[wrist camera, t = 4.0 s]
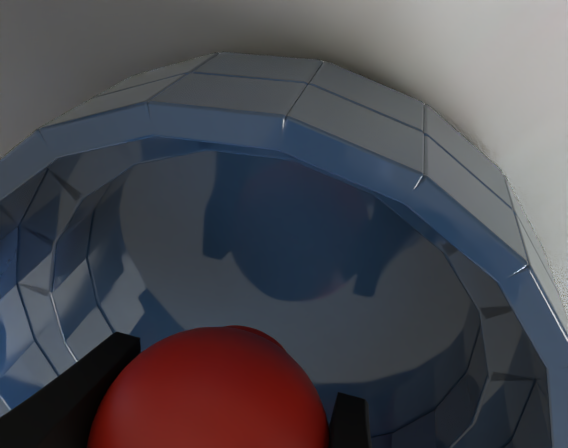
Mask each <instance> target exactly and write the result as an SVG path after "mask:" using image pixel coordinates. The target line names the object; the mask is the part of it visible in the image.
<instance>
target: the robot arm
mask: <svg viewBox="0 0 568 448" xmlns="http://www.w3.org/2000/svg"><path fill="white" fill-rule="evenodd" d="M140 353H141V341H140V338H139V337H135V336H132V335H128V334H124V333H121V332H115V333H113V334H112V335H110V336H109V337H108V338H106V339H105V340H104V341H103V342H101V343H100V344H99V345H98V346H96V347H95V348H94V349H93V350H91V351H90V352H89V353H88V354H86V355H85V356H84V357H83V358H81V359H80V360H79V361H77V362H76V363H75V364H74V365H72V366H71V367H70V368H68V369H67V370H66V371H64V372H63V373H62V374H60V375H59V376H58V377H56V378H55V379H54V380H52V381H51V382H50V383H48V384H47V385H46V386H44V387H43V388H42V389H40V390H39V391H37V392H36V393H35V394H33V395H32V396H31V397H29V398H28V399H26V400H25V401H23V402H22V403H20V404H19V405H18V406H16V407H15V408H13V409H12V410H10V411H9V412H7V413H6V414H4V415H3V416H1V417H0V448H87V443H88V438H89V434H90V430H91V426H92V422H93V420H94V417H95V415H96V412H97V410H98V407H99V405H100V403H101V401H102V399H103V397H104V395H105V394H106V392H107V390H108V388H109V387H110V386H111V384H112V383H113V382H114V380H115V379H116V378H117V376H118V375H119V374H120V372H121V371H122V370H123V369H124V368H125V367H126V366H127V365H128V364H129V363H130V362H131V361H132V360H133V359H134V358H135V357H137V356H138V355H139V354H140ZM329 431H330V436H329V448H372V442H371V434H370V424H369V404H368V402H367V401H366V400H365V399H363V398H359V397H355V396H352V395H348V394H344V393H341V392H338V394H337V398H336V402H335V405H334V409H333V412H332V416H331V420H330V423H329Z"/></svg>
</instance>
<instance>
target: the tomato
mask: <svg viewBox="0 0 568 448" xmlns="http://www.w3.org/2000/svg"><path fill="white" fill-rule="evenodd" d="M329 436H330V431H329V427H328V422H327V417H326V413H325V410H324V407H323V404H322V402H321V399H320V397H319V394H318V392H317V390H316V388H315V387H314V385H313V383H312V382H311V380H310V378H309V377H308V375H307V374H306V372H305V371H304V370H303V369H302V367H301V366H300V365H299V364H298V363H297V362H296V361H295V360H294V359H293V358H292V357H291V356H290V355H289V354H288V353H287V352H286V350H285V349H284V348H283V347H282V346H281V345H280V344H279V343H278V342H277V341H276V340H275V339H274V338H272V337H271V336H269V335H268V334H266V333H264V332H262V331H259V330H257V329H254V328H251V327H246V326H239V325H231V326H224V327H201V328H195V329H191V330H186V331H183V332H179V333H176V334H174V335H171V336H169V337H166V338H164V339H162V340H160V341H158V342H157V343H155V344H153V345H151V346H150V347H148V348H147V349H146V350H144V351H143V352H141V353H140V354H139V355H138V356H137V357H135V358H134V359H133V360H132V361H131V362H130V363H129V364H128V365H127V366H126V367H125V368H124V369H123V370H122V371H121V372H120V374H119V375H118V376H117V378H116V379H115V380H114V382H113V383H112V384H111V386H110V387H109V388H108V390H107V392H106V394H105V395H104V397H103V399H102V401H101V403H100V405H99V407H98V410H97V412H96V415H95V417H94V420H93V422H92V426H91V430H90V434H89V438H88V443H87V448H329Z"/></svg>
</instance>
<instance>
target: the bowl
mask: <svg viewBox="0 0 568 448" xmlns="http://www.w3.org/2000/svg"><path fill="white" fill-rule="evenodd" d="M231 325H239V326H246V327H251V328H254V329H257V330H259V331H262V332H264V333H266V334H268V335H269V336H271V337H272V338H274V339H275V340H276V341H277V342H278V343H279V344H280V345H281V346H282V347H283V348H284V349H285V350H286V352H287V353H288V354H289V355H290V356H291V357H292V358H293V359H294V360H295V361H296V362H297V363H298V364H299V365H300V366H301V367H302V369H303V370H304V371H305V372H306V374H307V375H308V377H309V378H310V380H311V382H312V383H313V385H314V387H315V388H316V390H317V392H318V394H319V397H320V399H321V402H322V404H323V407H324V410H325V413H326V417H327V422H328V427H329V423H330V420H331V416H332V412H333V409H334V405H335V402H336V398H337V394H338V392H341V393H344V394H348V395H352V396H355V397H359V398H363V399H365V400H366V401H367V402H368V404H369V424H370V434H371V442H372V448H568V317H567V314H566V311H565V308H564V306H563V303H562V300H561V297H560V294H559V291H558V288H557V286H556V283H555V280H554V277H553V274H552V271H551V268H550V265H549V262H548V260H547V257H546V254H545V251H544V249H543V247H542V245H541V243H540V241H539V239H538V237H537V235H536V233H535V232H534V230H533V228H532V226H531V224H530V222H529V220H528V218H527V216H526V214H525V212H524V210H523V209H522V207H521V205H520V203H519V201H518V199H517V197H516V195H515V193H514V191H513V189H512V188H511V186H510V184H509V182H508V180H507V178H506V176H505V175H503V173H502V171H501V169H499V168H498V167H497V166H496V165H495V164H494V163H493V162H492V161H490V160H489V159H488V158H487V157H486V156H485V155H484V154H483V153H481V152H480V151H479V150H478V149H477V148H476V147H475V146H474V145H472V144H471V143H470V142H469V141H468V140H467V139H466V138H465V137H463V136H462V135H461V134H460V133H459V132H458V131H457V130H456V129H454V128H453V127H452V126H451V125H450V124H449V123H448V122H447V121H445V120H444V119H443V118H442V117H441V116H440V115H439V114H438V113H436V112H435V111H434V110H433V109H432V108H431V107H430V106H429V105H427V104H424V103H423V102H422V101H420V100H417V99H415V98H413V97H410V96H408V95H405V94H403V93H401V92H398V91H396V90H394V89H391V88H389V87H387V86H384V85H382V84H380V83H377V82H375V81H373V80H370V79H368V78H365V77H363V76H361V75H358V74H356V73H354V72H351V71H349V70H347V69H344V68H342V67H340V66H337V65H335V64H332V63H330V62H328V61H324V62H322V61H321V60H318V59H306V58H293V57H281V56H268V55H256V54H243V53H231V52H221V53H216V52H215V53H212V54H208V55H204V56H201V57H197V58H193V59H190V60H186V61H183V62H179V63H175V64H172V65H168V66H164V67H161V68H157V69H154V70H150V71H146V72H143V73H139V74H135V75H133V76H131V77H129V78H127V79H125V80H123V81H121V82H120V83H118V84H116V85H114V86H113V87H111V88H109V89H107V90H105V91H104V92H102V93H100V94H98V95H97V96H95V97H93V98H91V99H90V100H88V101H86V102H84V103H82V104H81V105H79V106H77V107H75V108H73V109H72V110H70V111H68V112H66V113H64V114H63V115H61V116H59V117H57V118H56V119H54V120H52V121H50V122H48V123H47V124H45V125H43V126H41V127H40V128H38V129H36V130H35V131H34V132H32V133H31V134H30V135H29V136H27V137H26V138H25V139H24V140H23V141H21V142H20V143H19V144H18V145H16V146H15V147H14V148H13V149H12V150H10V151H9V152H8V153H7V154H5V155H4V156H3V157H2V158H1V159H0V417H1V416H3V415H4V414H6V413H7V412H9V411H10V410H12V409H13V408H15V407H16V406H18V405H19V404H20V403H22V402H23V401H25V400H26V399H28V398H29V397H31V396H32V395H33V394H35V393H36V392H37V391H39V390H40V389H42V388H43V387H44V386H46V385H47V384H48V383H50V382H51V381H52V380H54V379H55V378H56V377H58V376H59V375H60V374H62V373H63V372H64V371H66V370H67V369H68V368H70V367H71V366H72V365H74V364H75V363H76V362H77V361H79V360H80V359H81V358H83V357H84V356H85V355H86V354H88V353H89V352H90V351H91V350H93V349H94V348H95V347H96V346H98V345H99V344H100V343H101V342H103V341H104V340H105V339H106V338H108V337H109V336H110V335H112V334H113V333H115V332H121V333H124V334H128V335H132V336H135V337H139V338H140V341H141V352H143V351H144V350H146V349H147V348H148V347H150V346H151V345H153V344H155V343H157V342H158V341H160V340H162V339H164V338H166V337H169V336H171V335H174V334H176V333H179V332H183V331H186V330H191V329H195V328H201V327H224V326H231Z"/></svg>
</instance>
